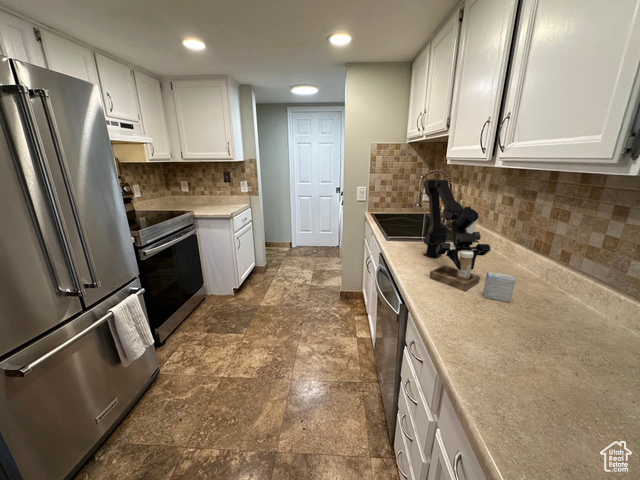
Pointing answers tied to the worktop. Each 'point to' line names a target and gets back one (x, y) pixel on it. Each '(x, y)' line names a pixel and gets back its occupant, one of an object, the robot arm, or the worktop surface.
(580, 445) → the worktop surface
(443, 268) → the frame
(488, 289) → the medicine box
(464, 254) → the sprinkles bottle
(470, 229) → the skincare box
